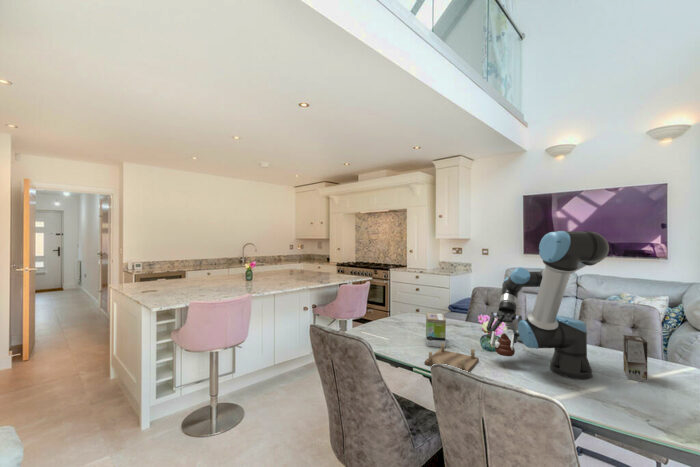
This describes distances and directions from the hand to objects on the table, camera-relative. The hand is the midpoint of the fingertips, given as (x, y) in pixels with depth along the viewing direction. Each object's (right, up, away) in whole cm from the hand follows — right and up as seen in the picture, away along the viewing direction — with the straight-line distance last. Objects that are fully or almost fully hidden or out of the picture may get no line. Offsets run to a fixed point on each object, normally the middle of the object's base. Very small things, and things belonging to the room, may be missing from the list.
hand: (501, 346), depth 145 cm
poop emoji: (+2, -4, +2) cm, 5 cm away
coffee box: (+51, -9, -11) cm, 53 cm away
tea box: (-21, -10, +33) cm, 40 cm away
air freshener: (+29, -9, +34) cm, 46 cm away
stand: (-21, -9, +4) cm, 23 cm away
